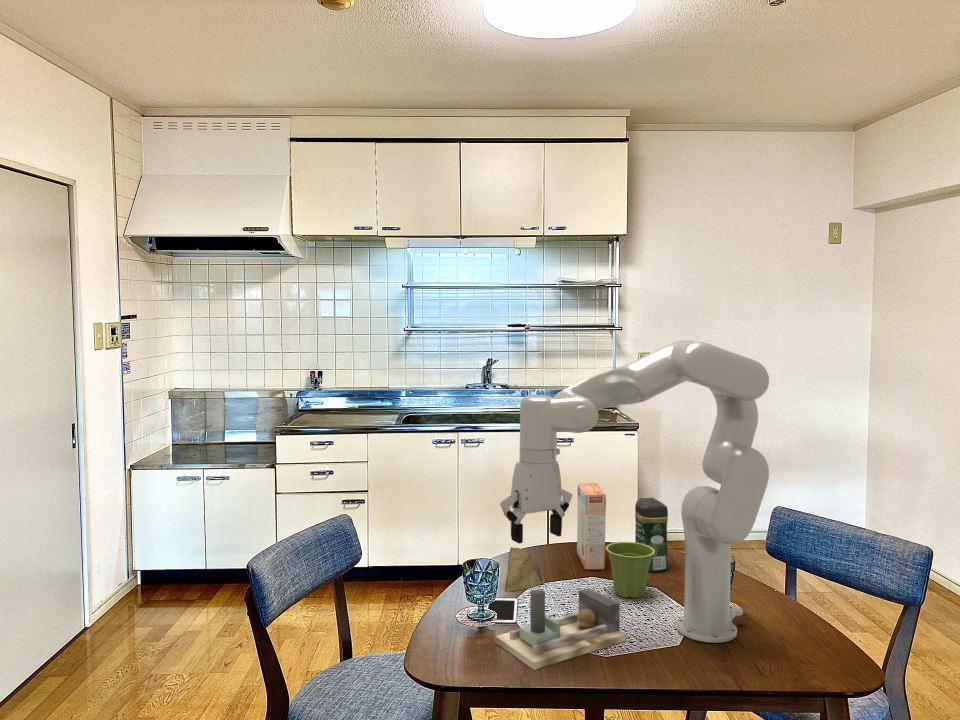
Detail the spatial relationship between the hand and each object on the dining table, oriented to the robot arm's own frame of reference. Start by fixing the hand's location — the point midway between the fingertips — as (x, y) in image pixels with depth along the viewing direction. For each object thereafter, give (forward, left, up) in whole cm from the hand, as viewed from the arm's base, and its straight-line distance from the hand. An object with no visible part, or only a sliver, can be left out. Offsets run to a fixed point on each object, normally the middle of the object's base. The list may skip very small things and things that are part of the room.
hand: (536, 538), depth 153 cm
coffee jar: (-55, -22, -24) cm, 64 cm away
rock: (-18, -29, -24) cm, 42 cm away
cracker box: (-44, -34, -24) cm, 61 cm away
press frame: (-6, +1, -23) cm, 24 cm away
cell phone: (-4, -19, -24) cm, 31 cm away
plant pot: (-37, -11, -24) cm, 45 cm away
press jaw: (0, +1, -21) cm, 22 cm away
